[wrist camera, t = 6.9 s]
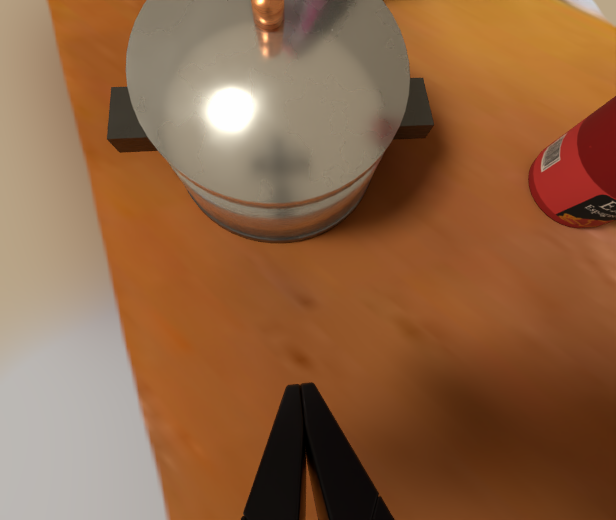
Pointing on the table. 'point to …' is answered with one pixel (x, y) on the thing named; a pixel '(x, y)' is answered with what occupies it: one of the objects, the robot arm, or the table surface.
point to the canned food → (579, 172)
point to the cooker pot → (262, 221)
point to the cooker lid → (268, 93)
